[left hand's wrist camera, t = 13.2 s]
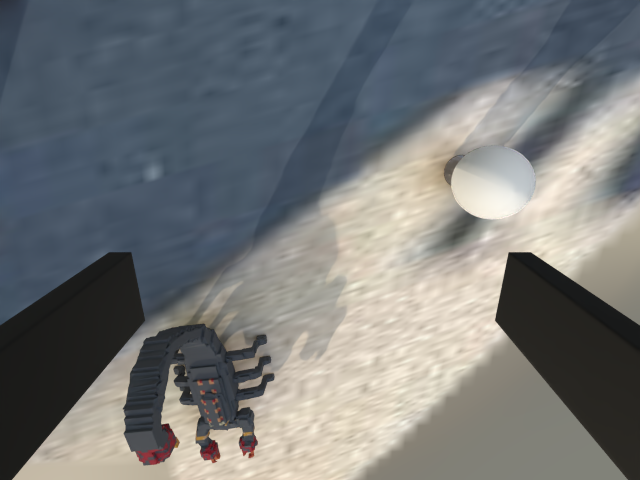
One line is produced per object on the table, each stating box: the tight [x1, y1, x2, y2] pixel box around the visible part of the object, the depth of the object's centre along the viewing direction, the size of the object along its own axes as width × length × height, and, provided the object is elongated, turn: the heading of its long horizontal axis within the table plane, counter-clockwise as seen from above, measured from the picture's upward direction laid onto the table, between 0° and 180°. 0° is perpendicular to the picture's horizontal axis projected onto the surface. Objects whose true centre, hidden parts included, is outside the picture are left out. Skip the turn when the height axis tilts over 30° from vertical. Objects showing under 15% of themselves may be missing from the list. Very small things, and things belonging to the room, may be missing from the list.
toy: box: [123, 324, 274, 465], centre depth 40 cm, size 13×27×18 cm, turn 7°
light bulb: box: [444, 145, 536, 219], centre depth 34 cm, size 7×7×11 cm
